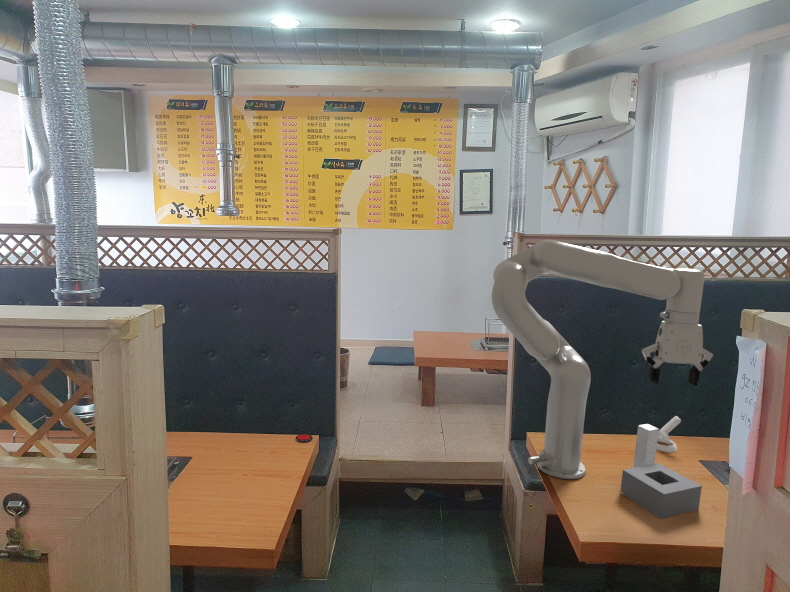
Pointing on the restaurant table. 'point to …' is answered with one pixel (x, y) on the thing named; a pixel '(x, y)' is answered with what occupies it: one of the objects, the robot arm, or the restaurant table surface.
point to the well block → (661, 490)
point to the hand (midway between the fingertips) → (673, 383)
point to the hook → (667, 436)
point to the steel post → (646, 445)
